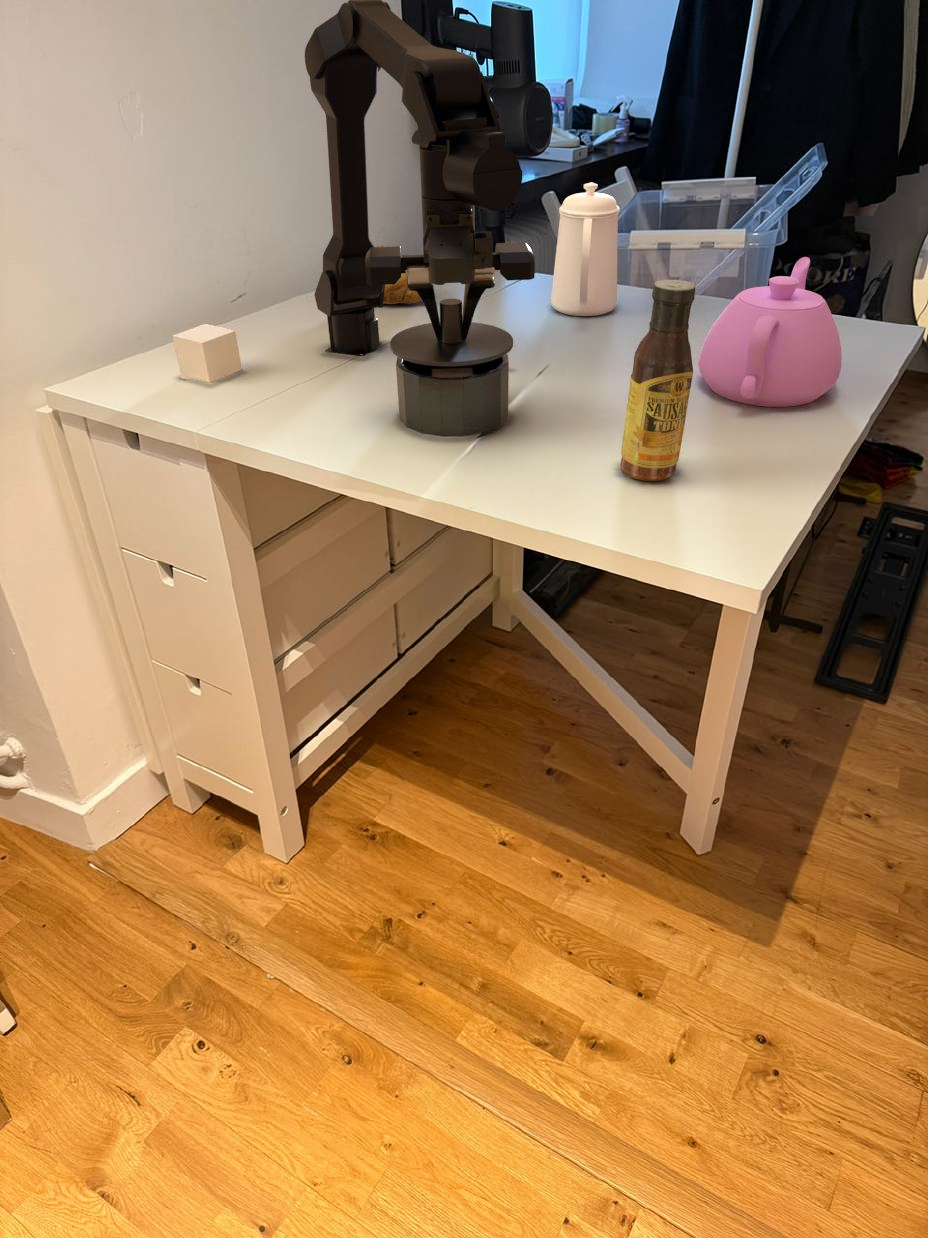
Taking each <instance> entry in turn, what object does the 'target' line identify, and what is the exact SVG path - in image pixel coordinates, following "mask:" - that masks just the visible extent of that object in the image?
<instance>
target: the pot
mask: <svg viewBox="0 0 928 1238" xmlns="http://www.w3.org/2000/svg"><path fill="white" fill-rule="evenodd" d="M396 358H397V359H396V362H395V367H396V368H395V369H396V385H397V398H398V399H397V400H398V414H399V415H398V416H399V420H400V422H401V423H402V424H403V425H404V426H405V427H406V429H407V428H408V429H410V430H413V431H415V432H417V433H420V434H423V435H429V436H435V437H443V438H444V437H445V438H447V437H452V438H453V437H468V436H474V435H478V436H476V439H478V438H482V437H483V438H484V437H486V436H490V435H492V434H494V433H496V432H498V431H499V430H501V429H502V428H503V427H504V426H505V425H506V424H507V422H508V420H509V419H508V418H509V381H510V380H509V375H510V373H509V369H510V364H509V363H510V362H509V354H508V353H507V354H506V355H504V356H502V357H500V358H498V359H495V360H492V361H488V362H484V363H479V364H474V365H466V366H431V365H423V364H417V363H413V362H410V361H406V360H404V359H401V358H399V357H398V356H396ZM448 368H472V371H473V376H467V377H451V378H440V377H432V369H448Z"/></svg>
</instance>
